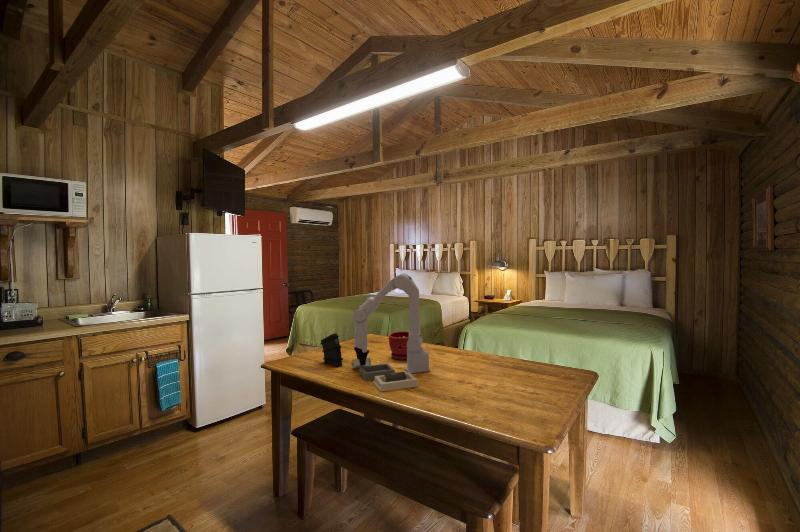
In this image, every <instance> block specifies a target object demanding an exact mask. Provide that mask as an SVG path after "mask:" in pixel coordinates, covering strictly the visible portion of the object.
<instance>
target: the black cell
mask: <svg viewBox="0 0 800 532" xmlns="http://www.w3.org/2000/svg"><path fill="white" fill-rule="evenodd" d="M405 372H406V371H399V372H398V371H397V372H395V373H390V374H385V375H384V381H385V382H392V381H400V380H406V374H405Z"/></svg>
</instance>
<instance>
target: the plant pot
mask: <svg viewBox="0 0 800 532" xmlns="http://www.w3.org/2000/svg"><path fill="white" fill-rule="evenodd" d="M408 339H409V331H395V332H391V333H389V334H388V345H389V348H390V351H391V357H392V358H393V359H394V360H395V359H396V360H399V359H400V360H401V361H402V360H403V361H404V359H405V360H407V349H408V348H407V342H408Z"/></svg>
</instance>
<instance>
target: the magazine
mask: <svg viewBox="0 0 800 532" xmlns="http://www.w3.org/2000/svg"><path fill="white" fill-rule="evenodd" d="M339 337H340V335H339V334H338V333H336V332H335V333H331V334H330V335H327V336H325V337H324V338H323V339H321V340H320V343H319V344H320V345H321V347H322V349H323V350H322V351H321V352H322V353H323V358H322V360H324V361H323V363H324V364H327V363H328V364H327V365H330V364H331V365H330V366H334V367H336V368H339V367H341V366H343V361H344V358H343V357H342V350H341V349H342V345H341V343H340V340H339ZM338 366H339V367H338Z"/></svg>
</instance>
